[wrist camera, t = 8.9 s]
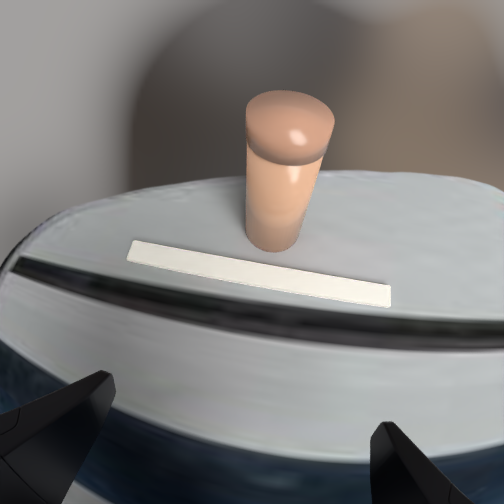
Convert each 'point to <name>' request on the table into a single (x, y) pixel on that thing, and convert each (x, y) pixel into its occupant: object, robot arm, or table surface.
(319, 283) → the line
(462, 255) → the table surface
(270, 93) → the tumbler
